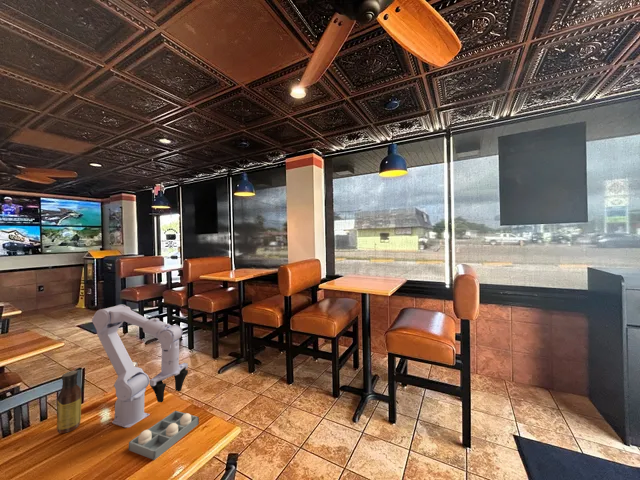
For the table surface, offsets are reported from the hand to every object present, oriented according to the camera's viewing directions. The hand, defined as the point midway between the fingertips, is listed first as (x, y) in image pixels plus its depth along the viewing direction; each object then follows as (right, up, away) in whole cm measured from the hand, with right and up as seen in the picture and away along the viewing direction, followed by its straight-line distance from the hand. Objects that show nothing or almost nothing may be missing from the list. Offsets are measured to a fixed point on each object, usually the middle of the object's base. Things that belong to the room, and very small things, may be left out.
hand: (169, 395), depth 95 cm
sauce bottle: (-34, -10, -4) cm, 36 cm away
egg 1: (-1, -8, -13) cm, 15 cm away
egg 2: (+6, -8, -10) cm, 14 cm away
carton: (+4, -9, -9) cm, 13 cm away
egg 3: (+8, -9, -4) cm, 13 cm away
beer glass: (-26, -10, +13) cm, 31 cm away
